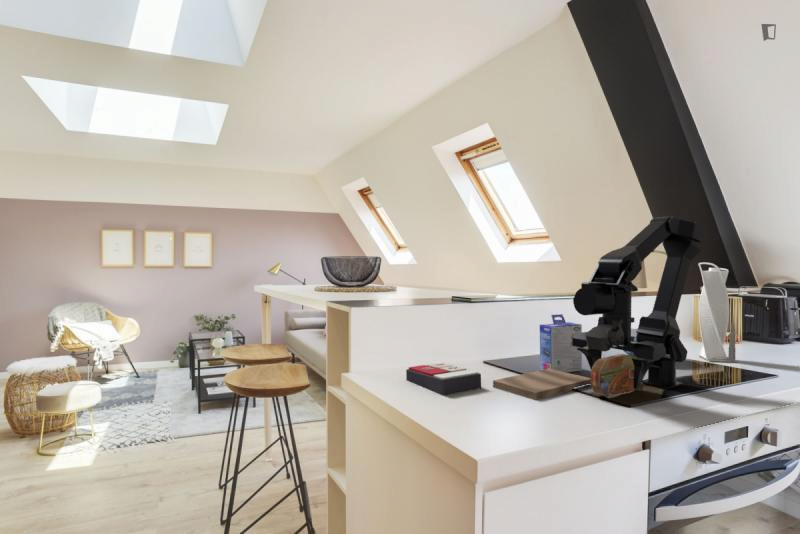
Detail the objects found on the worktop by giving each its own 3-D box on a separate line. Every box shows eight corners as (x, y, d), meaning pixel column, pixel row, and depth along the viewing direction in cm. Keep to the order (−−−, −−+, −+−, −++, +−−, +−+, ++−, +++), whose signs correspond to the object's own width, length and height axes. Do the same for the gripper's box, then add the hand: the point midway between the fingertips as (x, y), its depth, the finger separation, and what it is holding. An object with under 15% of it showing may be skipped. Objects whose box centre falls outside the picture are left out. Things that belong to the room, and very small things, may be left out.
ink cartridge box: (568, 366, 132) (569, 313, 131) (583, 371, 127) (583, 315, 126) (538, 369, 128) (538, 314, 128) (551, 374, 123) (552, 317, 123)
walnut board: (548, 374, 123) (549, 368, 123) (591, 385, 113) (591, 378, 113) (493, 386, 111) (493, 380, 111) (535, 399, 102) (535, 392, 102)
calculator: (442, 361, 123) (481, 370, 111) (442, 378, 123) (482, 389, 111) (405, 366, 118) (442, 376, 105) (405, 384, 118) (443, 396, 105)
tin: (600, 401, 101) (601, 361, 101) (587, 397, 104) (588, 358, 103) (641, 390, 109) (642, 353, 109) (628, 387, 112) (629, 350, 112)
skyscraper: (704, 361, 138) (706, 262, 137) (692, 355, 146) (693, 262, 145) (737, 362, 137) (739, 262, 136) (723, 356, 145) (724, 262, 144)
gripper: (557, 310, 109) (556, 380, 109) (639, 320, 94) (637, 401, 94) (586, 307, 115) (585, 373, 116) (667, 316, 100) (666, 391, 101)
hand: (615, 384), depth 106 cm, fingers open, 9 cm apart
